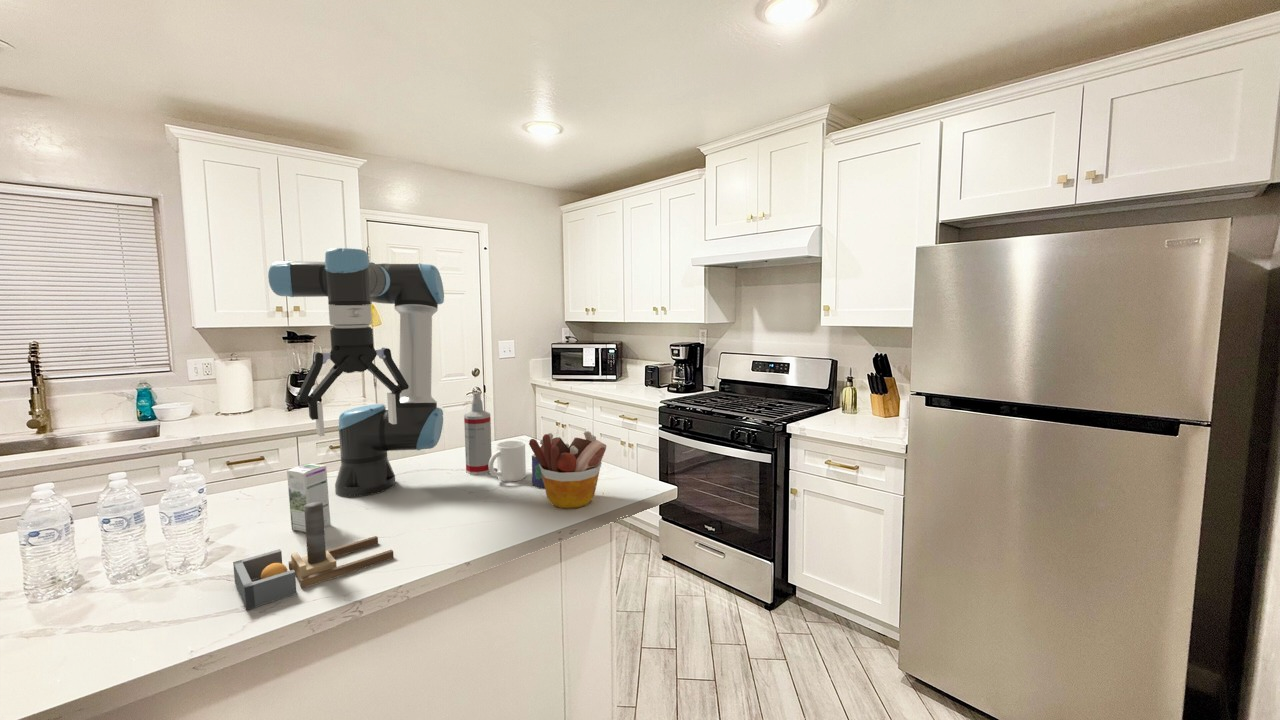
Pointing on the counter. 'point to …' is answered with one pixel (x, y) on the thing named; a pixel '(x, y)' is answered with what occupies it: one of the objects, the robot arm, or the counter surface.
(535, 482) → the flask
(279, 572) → the ball
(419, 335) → the robot arm
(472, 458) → the spray bottle
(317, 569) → the carriage
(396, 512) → the counter surface
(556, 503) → the bucket of meat
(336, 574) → the rails
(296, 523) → the syrup box
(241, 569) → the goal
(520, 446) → the mug
